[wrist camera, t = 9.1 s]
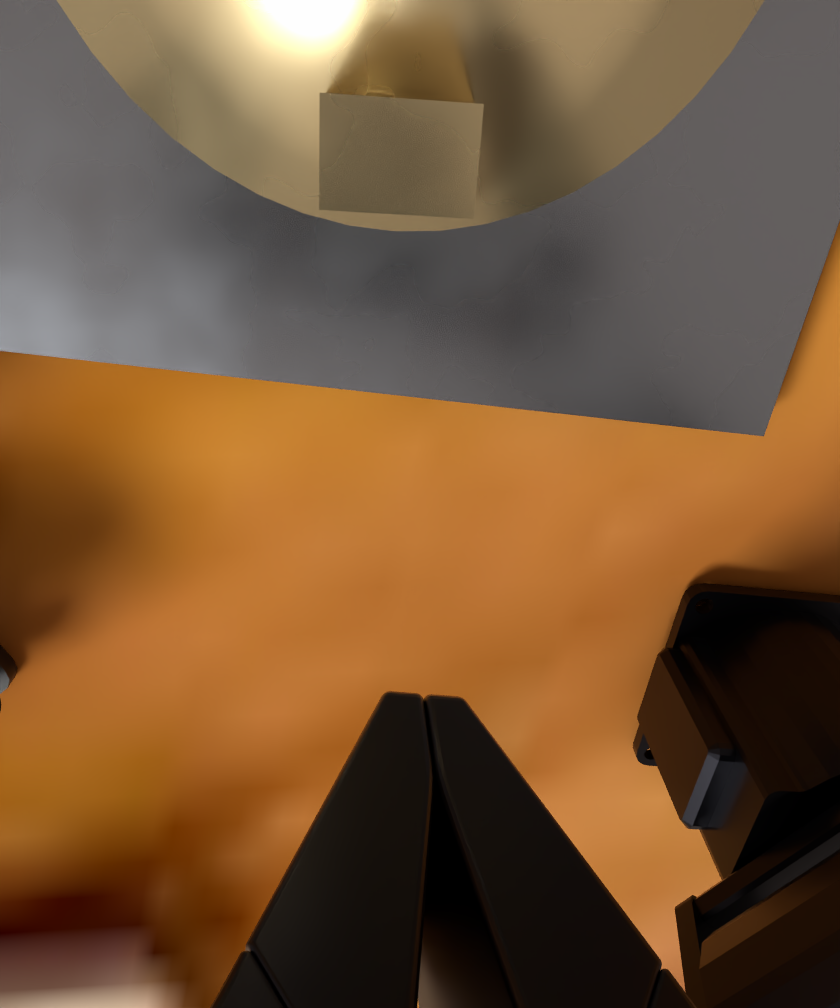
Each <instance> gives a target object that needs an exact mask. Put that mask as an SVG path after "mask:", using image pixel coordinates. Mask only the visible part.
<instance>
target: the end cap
mask: <svg viewBox="0 0 840 1008" xmlns="http://www.w3.org/2000/svg"><path fill="white" fill-rule="evenodd" d="M16 671H17V666H16V664H15V662H14V660H13V659H12V657H11V656H10V655H9V654H8V653H7V652H6V651H5V650H4V648H3V647H2V646H1V645H0V693H2V692H3V691H4V690H5V689H7V688H8V686H9V685H10V683H11V682H12V680H13V679H14V677H15V675H16ZM0 711H1V700H0Z"/></svg>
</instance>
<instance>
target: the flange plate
mask: <svg viewBox="0 0 840 1008" xmlns="http://www.w3.org/2000/svg"><path fill="white" fill-rule="evenodd" d="M839 221H840V0H764V2H763V4H762V5H761V7H760V8H759V10H758V11H757V13H756V15H755V16H754V18H753V19H752V21H751V22H750V24H749V25H748V27H747V28H746V30H745V32H744V33H743V35H742V36H741V38H740V39H739V41H738V42H737V44H736V46H735V47H734V49H733V50H732V52H731V53H730V54H729V55H728V57H727V58H726V59H725V60H724V62H723V63H722V64H721V65H720V67H719V68H718V69H717V70H716V72H715V73H714V74H713V75H712V77H711V78H710V79H709V80H708V82H707V83H706V84H705V85H704V86H703V88H702V89H701V90H700V91H699V93H698V94H697V95H696V96H695V97H694V98H693V99H692V100H691V101H690V102H689V103H688V104H687V105H686V106H685V107H684V108H683V109H682V110H681V111H680V112H679V113H678V114H677V115H676V116H675V117H674V118H673V119H672V120H671V121H670V122H669V123H668V124H667V125H666V126H665V127H664V128H663V129H662V130H661V131H660V132H659V133H658V134H657V135H656V136H655V137H653V138H652V139H651V140H649V141H648V142H647V143H646V144H644V145H643V146H642V147H641V148H639V149H638V150H637V151H635V152H634V153H633V154H632V155H630V156H629V157H628V158H626V159H625V160H624V161H623V162H621V163H620V164H619V165H618V166H616V167H615V168H613V169H611V170H610V171H608V172H606V173H605V174H603V175H601V176H600V177H598V178H596V179H595V180H593V181H591V182H590V183H588V184H586V185H585V186H583V187H581V188H580V189H578V190H576V191H575V192H573V193H571V194H568V195H566V196H564V197H561V198H559V199H557V200H555V201H552V202H550V203H548V204H546V205H543V206H541V207H539V208H536V209H534V210H532V211H529V212H526V213H522V214H519V215H516V216H512V217H509V218H505V219H502V220H498V221H495V222H491V223H488V224H483V225H477V226H470V227H463V228H456V229H450V230H443V231H388V230H380V229H372V228H365V227H357V226H349V225H345V224H341V223H338V222H334V221H330V220H327V219H323V218H319V217H315V216H312V215H308V214H304V213H301V212H299V211H297V210H294V209H292V208H289V207H287V206H285V205H282V204H280V203H277V202H275V201H273V200H270V199H268V198H265V197H263V196H261V195H258V194H256V193H255V192H253V191H251V190H249V189H248V188H246V187H244V186H243V185H241V184H239V183H237V182H236V181H234V180H232V179H230V178H229V177H227V176H225V175H223V174H222V173H220V172H218V171H216V170H215V169H213V168H212V167H211V166H209V165H208V164H207V163H205V162H204V161H203V160H201V159H200V158H199V157H197V156H196V155H195V154H193V153H192V152H191V151H189V150H188V149H187V148H185V147H184V146H183V145H181V144H180V143H179V142H177V141H176V140H174V139H173V138H172V137H171V136H170V135H169V134H168V133H166V132H165V131H164V130H163V129H162V128H161V127H160V126H159V125H158V124H157V123H156V122H155V121H154V120H153V119H152V118H151V117H150V116H149V115H147V114H146V113H145V112H144V111H143V110H142V109H141V108H140V107H139V106H138V105H137V104H136V103H135V102H134V101H133V100H132V99H131V98H130V97H129V96H128V95H127V94H126V92H125V91H124V90H123V89H122V88H121V87H120V85H119V84H118V83H117V82H116V81H115V79H114V78H113V77H112V76H111V75H110V73H109V72H108V71H107V70H106V69H105V68H104V66H103V65H102V64H101V63H100V62H99V60H98V59H97V58H96V57H95V56H94V55H93V53H92V52H91V51H90V49H89V48H88V46H87V45H86V43H85V42H84V40H83V39H82V37H81V36H80V34H79V33H78V31H77V30H76V28H75V27H74V25H73V24H72V22H71V21H70V19H69V18H68V16H67V15H66V14H65V12H64V11H63V9H62V8H61V6H60V5H59V3H58V2H57V0H0V351H7V352H16V353H25V354H34V355H43V356H52V357H61V358H70V359H79V360H87V361H96V362H105V363H114V364H123V365H132V366H141V367H150V368H159V369H168V370H177V371H186V372H195V373H204V374H213V375H221V376H230V377H239V378H248V379H257V380H266V381H275V382H284V383H293V384H302V385H311V386H320V387H329V388H338V389H347V390H356V391H364V392H373V393H382V394H391V395H400V396H409V397H418V398H427V399H436V400H445V401H454V402H463V403H472V404H481V405H490V406H498V407H507V408H516V409H525V410H534V411H543V412H552V413H561V414H570V415H579V416H588V417H597V418H606V419H615V420H624V421H632V422H641V423H650V424H659V425H668V426H677V427H686V428H695V429H704V430H713V431H722V432H731V433H740V434H749V435H758V436H764V434H765V431H766V428H767V425H768V423H769V420H770V417H771V414H772V411H773V408H774V406H775V403H776V400H777V397H778V394H779V391H780V388H781V386H782V383H783V380H784V377H785V374H786V371H787V369H788V366H789V363H790V360H791V357H792V354H793V352H794V349H795V346H796V343H797V340H798V337H799V335H800V332H801V329H802V326H803V323H804V320H805V318H806V315H807V312H808V309H809V306H810V303H811V301H812V298H813V295H814V292H815V289H816V286H817V283H818V281H819V278H820V275H821V272H822V269H823V266H824V264H825V261H826V258H827V255H828V252H829V249H830V247H831V244H832V241H833V238H834V235H835V232H836V230H837V227H838V224H839Z"/></svg>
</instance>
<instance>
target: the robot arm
mask: <svg viewBox="0 0 840 1008" xmlns="http://www.w3.org/2000/svg"><path fill="white" fill-rule="evenodd" d="M702 599H708V600H707V601H706V603H704V604H703V605H699V606H696V604H697V603H698V601H700V600H702ZM637 718H638V721H639V727H638V730H637V733H636V736H635V739H634V742H633V749H634V752H635V754H636V757H637V759H638V761H639V762H640V763H642V764H644V765H649V766H658V769H659V771H660V773H661V776H662V778H663V781H664V783H665V785H666V788H667V790H668V792H669V795H670V797H671V800H672V802H673V804H674V807H675V809H676V811H677V814H678V816H679V819H680V820H681V821H682V822H683V824H684V825H685V826H686V827H687V828H688V829H699V830H700V832H701V834H702V836H703V839H704V841H705V843H706V845H707V848H708V850H709V852H710V854H711V857H712V859H713V861H714V863H715V866H716V868H717V870H718V872H719V875H720V877H721V879H722V881H720V882H719V883H717V884H716V885H714V886H713V887H711V888H710V889H708V890H707V891H705V892H704V893H702V894H701V895H700V896H698V897H696V896H694V895H692V896H691V897H689V898H688V899H686V900H685V901H683V902H682V903H680V904H679V905H677V906H676V907H675V914H676V921H677V929H678V937H679V944H680V952H681V960H682V968H683V975H684V983H685V991H686V993H685V991H684V990H683V989H682V987H681V986H680V985H679V983H678V982H677V981H676V979H675V978H674V977H673V975H672V974H671V973H670V971H669V970H667V969H662V970H661V971H660V969H661V965H662V963H661V960H660V959H659V957H658V956H657V955H656V953H655V952H654V951H653V949H652V948H651V947H650V945H649V944H648V943H647V941H646V940H645V939H644V937H643V936H642V935H641V933H640V932H639V931H638V929H637V928H636V927H635V925H634V924H633V923H632V921H631V920H630V919H629V917H628V916H627V915H626V913H625V912H624V911H623V909H622V908H621V907H620V905H619V904H618V903H617V901H616V900H615V899H614V897H613V896H612V895H611V893H610V892H609V891H608V889H607V888H606V887H605V885H604V884H603V883H602V881H601V880H600V879H599V877H598V876H597V875H596V873H595V872H594V871H593V869H592V868H591V867H590V866H589V864H588V863H587V862H586V860H585V859H584V858H583V856H582V855H581V854H580V852H579V851H578V850H577V848H576V847H575V846H574V844H573V843H572V842H571V840H570V839H569V838H568V836H567V835H566V834H565V832H564V831H563V830H562V828H561V827H560V826H559V824H558V823H557V822H556V820H555V819H554V818H553V816H552V815H551V814H550V812H549V811H548V810H547V808H546V807H545V806H544V804H543V803H542V802H541V800H540V799H539V798H538V796H537V795H536V794H535V792H534V791H533V790H532V788H531V787H530V786H529V784H528V783H527V782H526V780H525V779H524V778H523V776H522V775H521V774H520V772H519V771H518V770H517V768H516V767H515V766H514V764H513V763H512V762H511V760H510V759H509V758H508V756H507V755H506V754H505V752H504V751H503V750H502V748H501V747H500V746H499V744H498V743H497V742H496V740H495V739H494V738H493V736H492V735H491V734H490V732H489V731H488V730H487V728H486V727H485V726H484V724H483V723H482V722H481V721H480V719H479V718H478V717H477V715H476V714H475V713H474V711H473V710H472V709H471V707H470V706H469V705H468V703H467V702H466V701H465V700H464V699H463V698H461V697H457V696H445V695H432V694H431V695H427V696H426V697H425V698H424V700H423V698H422V696H421V695H419V694H417V693H406V692H393V691H388V692H386V693H384V694H383V695H382V697H381V699H380V700H379V702H378V704H377V706H376V708H375V709H374V711H373V713H372V715H371V717H370V719H369V720H368V722H367V724H366V726H365V728H364V730H363V731H362V733H361V735H360V737H359V739H358V741H357V742H356V744H355V746H354V748H353V750H352V752H351V753H350V755H349V757H348V759H347V761H346V763H345V764H344V766H343V768H342V770H341V772H340V773H339V775H338V777H337V779H336V781H335V783H334V784H333V786H332V788H331V790H330V792H329V794H328V795H327V797H326V799H325V801H324V803H323V805H322V806H321V808H320V810H319V812H318V814H317V816H316V817H315V819H314V821H313V823H312V825H311V827H310V828H309V830H308V832H307V834H306V836H305V837H304V839H303V841H302V843H301V845H300V847H299V848H298V850H297V852H296V854H295V856H294V858H293V859H292V861H291V863H290V865H289V867H288V869H287V870H286V872H285V874H284V876H283V878H282V880H281V881H280V883H279V885H278V887H277V889H276V891H275V892H274V894H273V896H272V898H271V900H270V901H269V903H268V905H267V907H266V909H265V911H264V912H263V914H262V916H261V918H260V920H259V922H258V923H257V925H256V927H255V929H254V931H253V933H252V934H251V936H250V938H249V940H248V942H247V944H246V951H243V952H241V954H240V955H239V957H238V959H237V961H236V963H235V964H234V966H233V968H232V970H231V972H230V973H229V975H228V977H227V979H226V981H225V983H224V984H223V986H222V988H221V990H220V992H219V993H218V995H217V997H216V999H215V1000H214V1002H213V1004H212V1005H211V1007H210V1008H417V1003H418V1001H419V1008H840V596H836V595H825V594H815V593H804V592H793V591H782V590H771V589H760V588H749V587H738V586H727V585H716V584H705V583H703V584H696V585H694V586H691V587H690V588H689V589H688V590H686V591H685V593H684V595H683V596H682V599H681V602H680V605H679V608H678V611H677V614H676V617H675V620H674V623H673V626H672V629H671V632H670V635H669V638H668V641H667V644H666V647H665V648H664V649H663V650H662V651H661V652H660V653H659V654H658V655H657V658H656V661H655V664H654V667H653V670H652V673H651V676H650V679H649V682H648V686H647V689H646V692H645V695H644V698H643V701H642V704H641V707H640V710H639V713H638V716H637ZM649 748H650V750H647V749H649Z"/></svg>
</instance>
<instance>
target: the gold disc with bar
mask: <svg viewBox="0 0 840 1008" xmlns="http://www.w3.org/2000/svg"><path fill="white" fill-rule="evenodd" d="M57 2H58V3H59V5H60V6H61V8H62V9H63V11H64V12H65V14H66V15H67V16H68V18H69V19H70V21H71V22H72V24H73V25H74V27H75V28H76V30H77V31H78V33H79V34H80V36H81V37H82V39H83V40H84V42H85V43H86V45H87V46H88V48H89V49H90V51H91V52H92V53H93V55H94V56H95V57H96V58H97V59H98V60H99V62H100V63H101V64H102V65H103V66H104V68H105V69H106V70H107V71H108V72H109V73H110V75H111V76H112V77H113V78H114V79H115V81H116V82H117V83H118V84H119V85H120V87H121V88H122V89H123V90H124V91H125V92H126V94H127V95H128V96H129V97H130V98H131V99H132V100H133V101H134V102H135V103H136V104H137V105H138V106H139V107H140V108H141V109H142V110H143V111H144V112H145V113H146V114H147V115H149V116H150V117H151V118H152V119H153V120H154V121H155V122H156V123H157V124H158V125H159V126H160V127H161V128H162V129H163V130H164V131H165V132H166V133H168V134H169V135H170V136H171V137H172V138H173V139H174V140H176V141H177V142H179V143H180V144H181V145H183V146H184V147H185V148H187V149H188V150H189V151H191V152H192V153H193V154H195V155H196V156H197V157H199V158H200V159H201V160H203V161H204V162H205V163H207V164H208V165H209V166H211V167H212V168H213V169H215V170H216V171H218V172H220V173H222V174H223V175H225V176H227V177H229V178H230V179H232V180H234V181H236V182H237V183H239V184H241V185H243V186H244V187H246V188H248V189H249V190H251V191H253V192H255V193H256V194H258V195H261V196H263V197H265V198H268V199H270V200H273V201H275V202H277V203H280V204H282V205H285V206H287V207H289V208H292V209H294V210H297V211H299V212H301V213H304V214H308V215H312V216H315V217H319V218H323V219H327V220H330V221H334V222H338V223H341V224H345V225H349V226H357V227H365V228H372V229H380V230H388V231H443V230H450V229H456V228H463V227H470V226H477V225H483V224H488V223H491V222H495V221H498V220H502V219H505V218H509V217H512V216H516V215H519V214H522V213H526V212H529V211H532V210H534V209H536V208H539V207H541V206H543V205H546V204H548V203H550V202H552V201H555V200H557V199H559V198H561V197H564V196H566V195H568V194H571V193H573V192H575V191H576V190H578V189H580V188H581V187H583V186H585V185H586V184H588V183H590V182H591V181H593V180H595V179H596V178H598V177H600V176H601V175H603V174H605V173H606V172H608V171H610V170H611V169H613V168H615V167H616V166H618V165H619V164H620V163H621V162H623V161H624V160H625V159H626V158H628V157H629V156H630V155H632V154H633V153H634V152H635V151H637V150H638V149H639V148H641V147H642V146H643V145H644V144H646V143H647V142H648V141H649V140H651V139H652V138H653V137H655V136H656V135H657V134H658V133H659V132H660V131H661V130H662V129H663V128H664V127H665V126H666V125H667V124H668V123H669V122H670V121H671V120H672V119H673V118H674V117H675V116H676V115H677V114H678V113H679V112H680V111H681V110H682V109H683V108H684V107H685V106H686V105H687V104H688V103H689V102H690V101H691V100H692V99H693V98H694V97H695V96H696V95H697V94H698V93H699V91H700V90H701V89H702V88H703V86H704V85H705V84H706V83H707V82H708V80H709V79H710V78H711V77H712V75H713V74H714V73H715V72H716V70H717V69H718V68H719V67H720V65H721V64H722V63H723V62H724V60H725V59H726V58H727V57H728V55H729V54H730V53H731V52H732V50H733V49H734V47H735V46H736V44H737V42H738V41H739V39H740V38H741V36H742V35H743V33H744V32H745V30H746V28H747V27H748V25H749V24H750V22H751V21H752V19H753V18H754V16H755V15H756V13H757V11H758V10H759V8H760V7H761V5H762V4H763V2H764V0H57Z"/></svg>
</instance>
